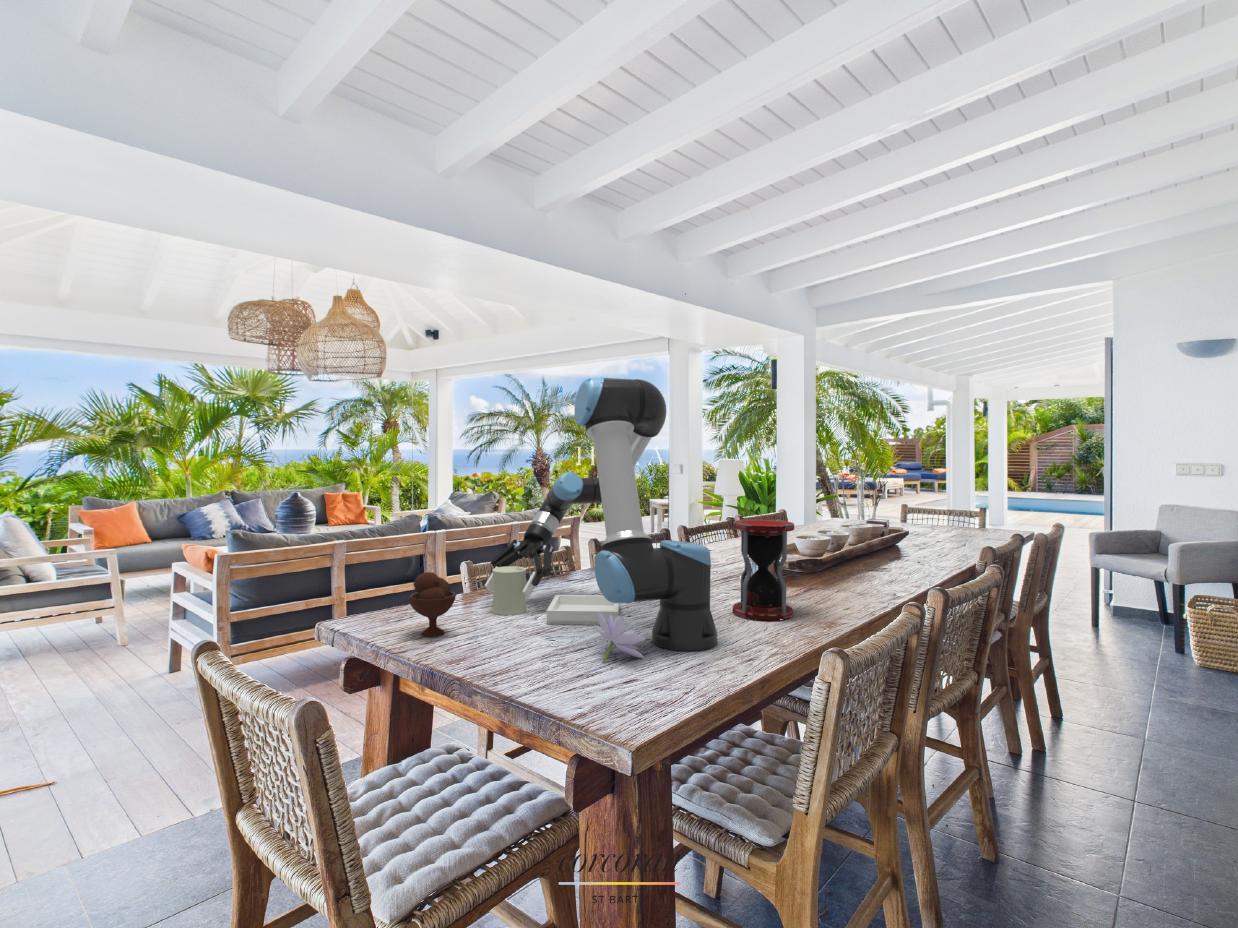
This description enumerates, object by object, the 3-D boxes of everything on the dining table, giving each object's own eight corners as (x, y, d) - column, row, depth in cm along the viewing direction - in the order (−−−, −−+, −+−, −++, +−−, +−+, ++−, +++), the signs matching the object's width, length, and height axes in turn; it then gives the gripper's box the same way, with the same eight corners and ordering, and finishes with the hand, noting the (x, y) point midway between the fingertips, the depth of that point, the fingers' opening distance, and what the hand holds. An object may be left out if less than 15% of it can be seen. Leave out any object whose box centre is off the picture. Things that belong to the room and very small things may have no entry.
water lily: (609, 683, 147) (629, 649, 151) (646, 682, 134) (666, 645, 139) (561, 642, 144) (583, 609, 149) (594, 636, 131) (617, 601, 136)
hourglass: (720, 612, 183) (721, 521, 182) (759, 603, 193) (760, 517, 192) (766, 624, 170) (767, 527, 169) (805, 615, 180) (806, 523, 179)
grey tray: (617, 625, 168) (617, 611, 168) (546, 624, 169) (546, 610, 169) (619, 607, 186) (619, 595, 186) (555, 607, 187) (555, 594, 187)
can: (523, 615, 178) (523, 570, 177) (488, 615, 178) (488, 570, 177) (528, 607, 187) (528, 564, 187) (495, 606, 187) (496, 564, 187)
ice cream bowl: (444, 641, 153) (444, 576, 153) (400, 638, 156) (399, 574, 155) (464, 629, 164) (463, 568, 163) (422, 626, 166) (422, 566, 166)
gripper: (581, 542, 190) (548, 605, 177) (514, 535, 203) (479, 593, 190) (570, 525, 185) (536, 589, 173) (502, 519, 198) (466, 578, 186)
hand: (506, 591), depth 182 cm, fingers open, 13 cm apart
